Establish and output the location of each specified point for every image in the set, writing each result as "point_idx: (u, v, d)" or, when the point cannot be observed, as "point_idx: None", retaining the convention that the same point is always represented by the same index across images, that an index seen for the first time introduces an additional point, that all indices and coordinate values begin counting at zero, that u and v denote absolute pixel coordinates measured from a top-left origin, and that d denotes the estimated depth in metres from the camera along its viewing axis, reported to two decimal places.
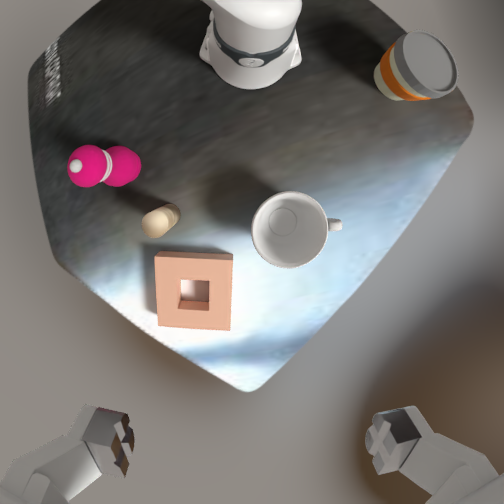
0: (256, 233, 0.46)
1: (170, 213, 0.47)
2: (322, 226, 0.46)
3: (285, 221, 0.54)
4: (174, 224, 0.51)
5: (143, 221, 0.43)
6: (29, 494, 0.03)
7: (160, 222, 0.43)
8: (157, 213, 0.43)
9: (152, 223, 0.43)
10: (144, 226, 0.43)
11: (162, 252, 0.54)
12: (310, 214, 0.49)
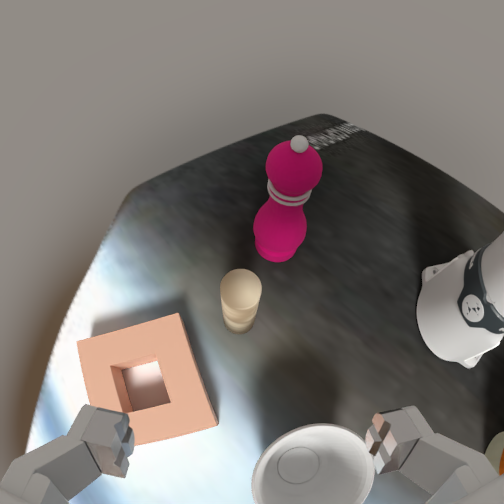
0: (288, 440, 0.23)
1: (255, 311, 0.32)
2: None
3: (299, 468, 0.28)
4: (234, 326, 0.35)
5: (238, 270, 0.30)
6: (29, 494, 0.03)
7: (248, 295, 0.29)
8: (259, 286, 0.29)
9: (242, 284, 0.29)
10: (232, 274, 0.30)
11: (183, 324, 0.36)
12: (337, 490, 0.23)
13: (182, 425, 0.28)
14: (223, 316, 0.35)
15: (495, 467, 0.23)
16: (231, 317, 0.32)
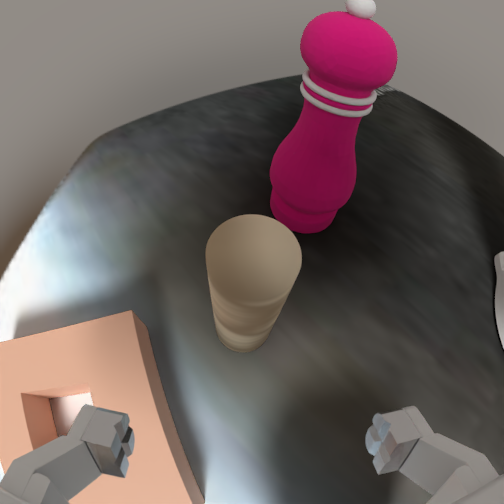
0: None
1: (279, 312, 0.16)
2: None
3: None
4: (234, 340, 0.18)
5: (248, 218, 0.13)
6: (29, 494, 0.03)
7: (271, 271, 0.12)
8: (296, 253, 0.13)
9: (257, 246, 0.13)
10: (235, 225, 0.13)
11: (145, 332, 0.20)
12: None
13: None
14: None
15: None
16: (229, 323, 0.15)
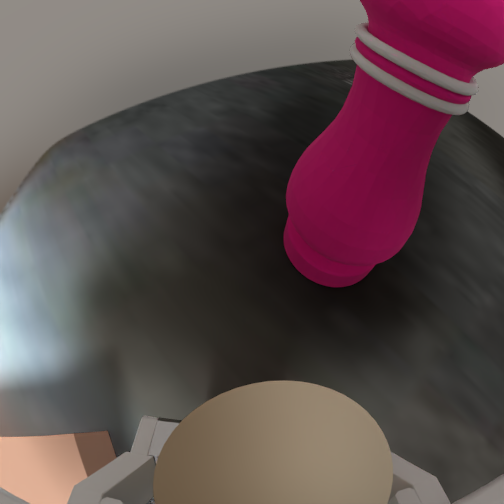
0: None
1: None
2: None
3: None
4: None
5: (265, 393, 0.04)
6: None
7: None
8: (382, 473, 0.04)
9: (287, 476, 0.04)
10: (228, 418, 0.04)
11: (103, 446, 0.11)
12: None
13: None
14: None
15: None
16: None
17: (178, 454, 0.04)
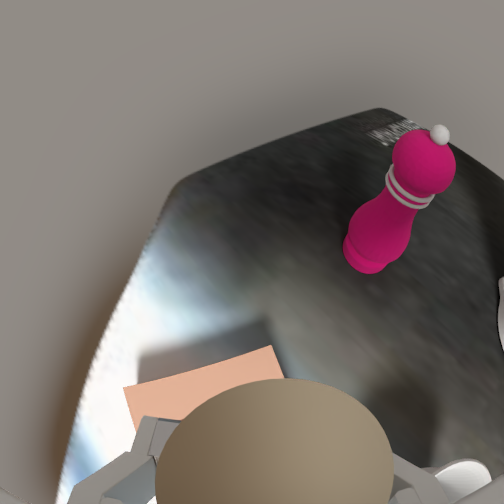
0: None
1: None
2: None
3: None
4: None
5: (266, 391, 0.04)
6: None
7: None
8: (383, 470, 0.04)
9: (289, 473, 0.04)
10: (229, 416, 0.04)
11: None
12: None
13: None
14: None
15: None
16: None
17: (180, 452, 0.04)
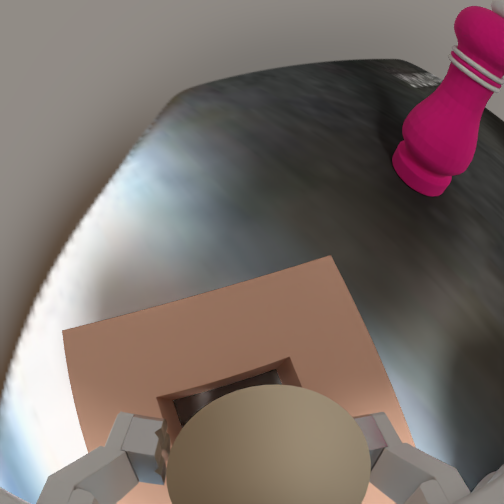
0: None
1: None
2: None
3: None
4: None
5: (260, 395, 0.05)
6: None
7: None
8: (361, 465, 0.04)
9: (279, 464, 0.04)
10: (229, 415, 0.05)
11: None
12: None
13: None
14: None
15: None
16: None
17: (188, 446, 0.05)
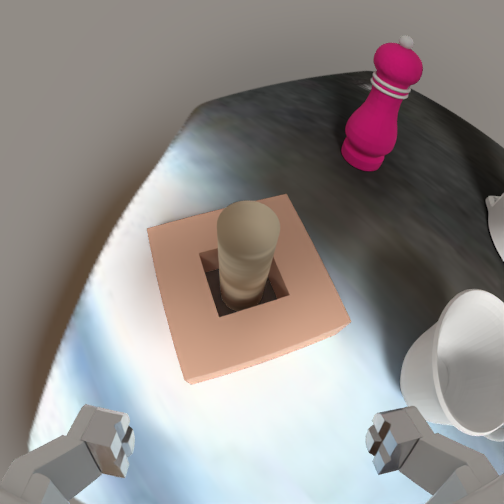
0: (452, 310, 0.19)
1: (267, 270, 0.22)
2: None
3: None
4: (235, 297, 0.25)
5: (245, 202, 0.20)
6: (29, 494, 0.03)
7: (259, 236, 0.19)
8: (276, 224, 0.19)
9: (250, 220, 0.19)
10: (236, 207, 0.20)
11: None
12: (482, 393, 0.18)
13: (307, 325, 0.23)
14: (220, 282, 0.25)
15: None
16: (232, 278, 0.22)
17: (224, 215, 0.19)
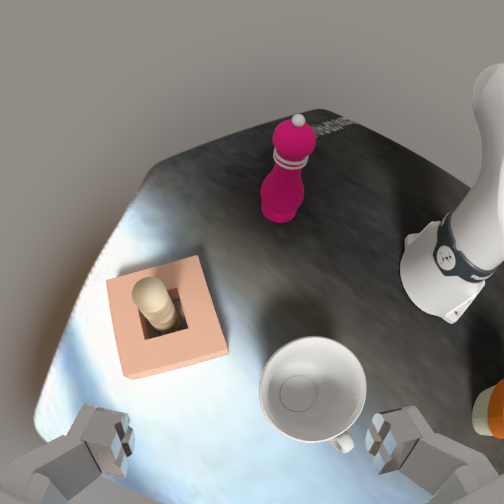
0: (290, 350, 0.31)
1: (168, 315, 0.35)
2: (337, 426, 0.27)
3: (299, 397, 0.36)
4: (156, 327, 0.37)
5: (148, 278, 0.32)
6: (29, 494, 0.03)
7: (153, 300, 0.31)
8: (164, 293, 0.32)
9: (149, 290, 0.32)
10: (143, 281, 0.32)
11: None
12: (334, 412, 0.31)
13: (197, 348, 0.36)
14: None
15: (484, 418, 0.31)
16: (148, 319, 0.34)
17: (136, 286, 0.32)
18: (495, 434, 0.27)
